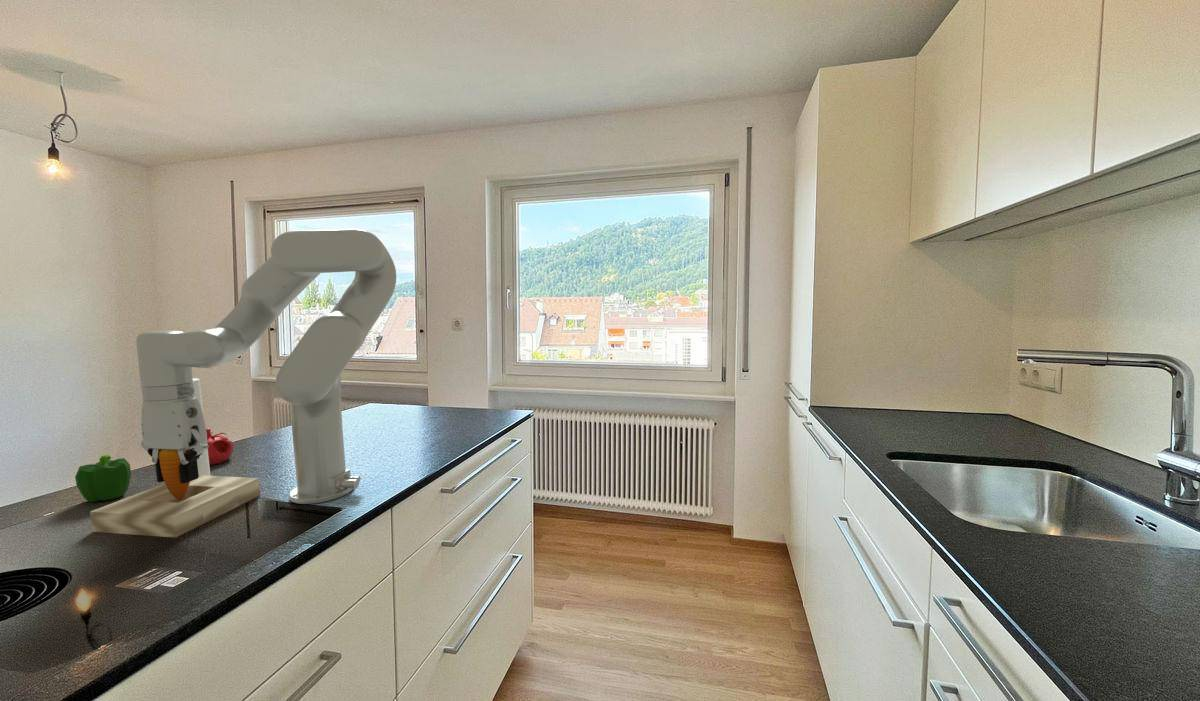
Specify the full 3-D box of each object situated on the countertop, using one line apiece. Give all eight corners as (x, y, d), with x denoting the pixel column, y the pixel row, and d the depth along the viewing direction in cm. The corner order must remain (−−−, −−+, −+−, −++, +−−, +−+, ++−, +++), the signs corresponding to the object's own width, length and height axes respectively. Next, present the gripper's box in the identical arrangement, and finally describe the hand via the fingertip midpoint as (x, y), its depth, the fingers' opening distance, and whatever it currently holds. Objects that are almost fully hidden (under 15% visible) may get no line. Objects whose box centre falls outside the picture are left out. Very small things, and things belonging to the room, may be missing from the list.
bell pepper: (80, 498, 101) (73, 454, 99) (133, 486, 107) (127, 445, 105) (78, 510, 95) (71, 464, 94) (134, 497, 101) (128, 454, 100)
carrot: (168, 507, 90) (160, 433, 88) (159, 501, 93) (152, 429, 91) (200, 498, 94) (193, 427, 92) (191, 492, 97) (184, 423, 95)
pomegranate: (180, 472, 116) (174, 437, 114) (196, 459, 125) (191, 426, 124) (228, 465, 120) (223, 431, 118) (240, 453, 129) (235, 421, 127)
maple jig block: (260, 495, 102) (258, 478, 101) (176, 537, 84) (173, 516, 83) (189, 491, 104) (187, 474, 103) (92, 531, 86) (90, 511, 86)
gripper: (224, 390, 93) (232, 475, 96) (152, 387, 96) (162, 471, 98) (186, 398, 86) (196, 490, 88) (110, 395, 88) (121, 485, 90)
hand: (178, 479), depth 93 cm, fingers closed on carrot, 4 cm apart
